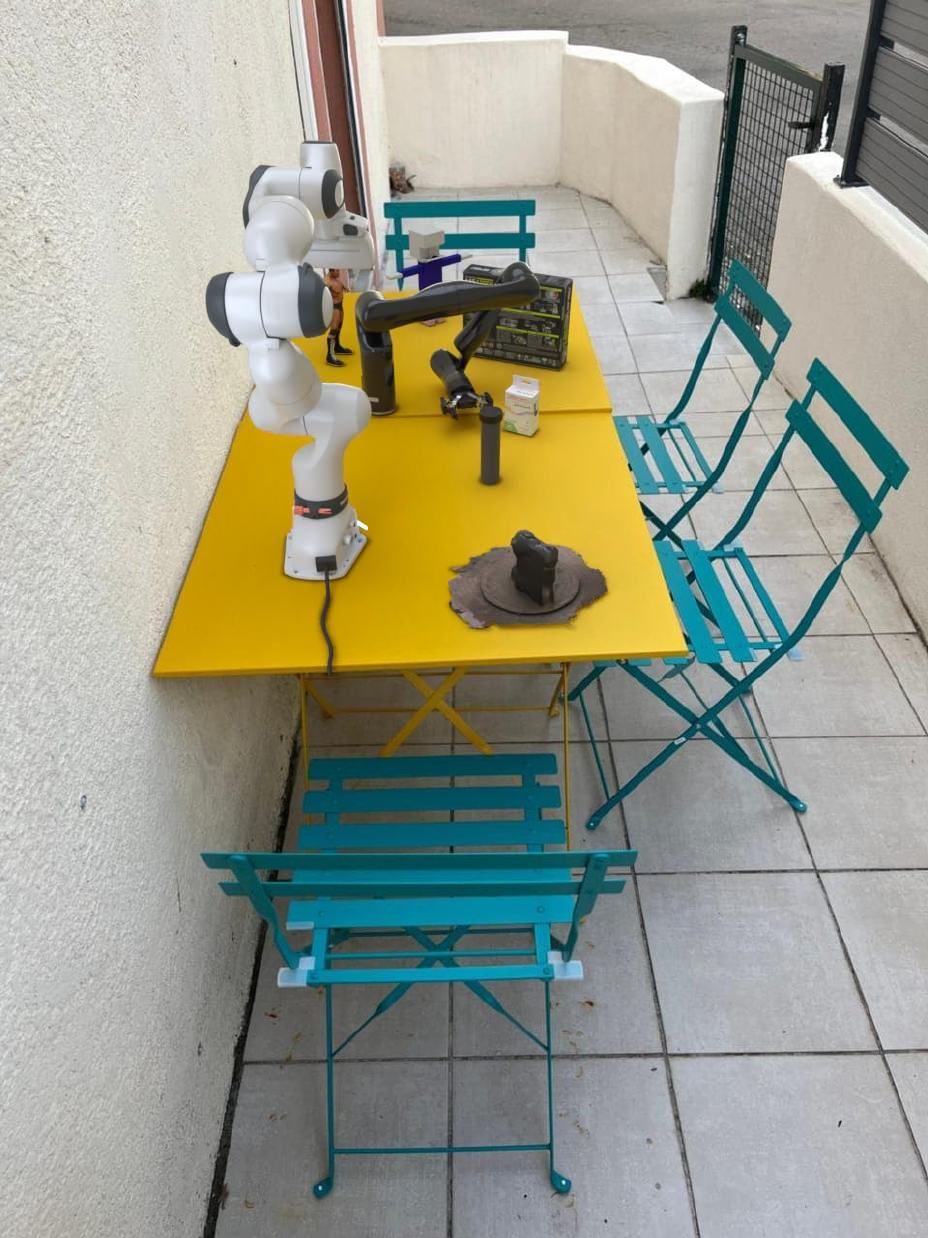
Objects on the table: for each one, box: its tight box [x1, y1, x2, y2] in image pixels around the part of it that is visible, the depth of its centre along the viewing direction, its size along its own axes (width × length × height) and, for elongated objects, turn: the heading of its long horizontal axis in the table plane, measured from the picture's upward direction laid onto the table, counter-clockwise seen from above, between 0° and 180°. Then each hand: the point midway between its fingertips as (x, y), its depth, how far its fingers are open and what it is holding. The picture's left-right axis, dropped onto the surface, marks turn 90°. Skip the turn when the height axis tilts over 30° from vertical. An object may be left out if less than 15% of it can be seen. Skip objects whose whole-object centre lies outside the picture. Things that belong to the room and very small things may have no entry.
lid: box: [478, 405, 504, 424], centre depth 215 cm, size 6×6×2 cm
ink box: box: [503, 374, 541, 437], centre depth 242 cm, size 9×5×15 cm, turn 62°
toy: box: [384, 223, 474, 327], centre depth 298 cm, size 35×10×30 cm, turn 130°
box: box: [462, 263, 574, 371], centre depth 275 cm, size 34×7×27 cm, turn 68°
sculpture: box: [447, 529, 609, 629], centre depth 188 cm, size 33×35×16 cm
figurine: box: [322, 269, 353, 367], centre depth 275 cm, size 24×6×30 cm, turn 168°
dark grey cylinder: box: [480, 421, 502, 486], centre depth 221 cm, size 5×5×19 cm
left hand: (332, 287), depth 199 cm, fingers open, 8 cm apart
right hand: (472, 415), depth 238 cm, fingers open, 8 cm apart
